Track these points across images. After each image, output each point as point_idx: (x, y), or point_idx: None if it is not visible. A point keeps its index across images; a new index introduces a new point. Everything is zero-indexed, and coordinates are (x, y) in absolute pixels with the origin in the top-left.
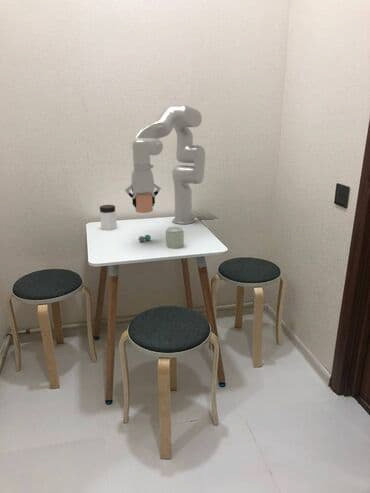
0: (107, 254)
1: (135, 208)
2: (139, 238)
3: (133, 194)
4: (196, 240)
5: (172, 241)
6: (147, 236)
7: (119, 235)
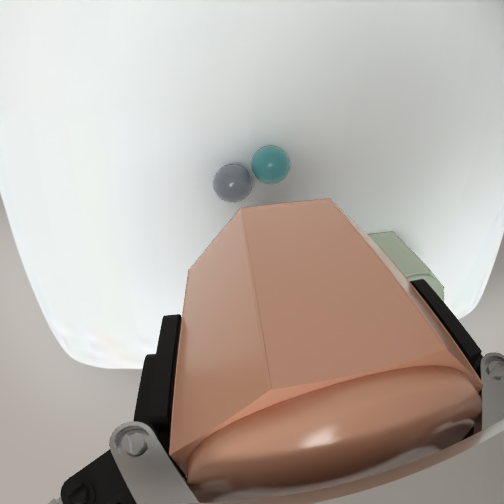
0: (88, 314)
1: (187, 292)
2: (218, 195)
3: (150, 486)
4: (466, 218)
5: None
6: (270, 182)
7: (105, 31)
